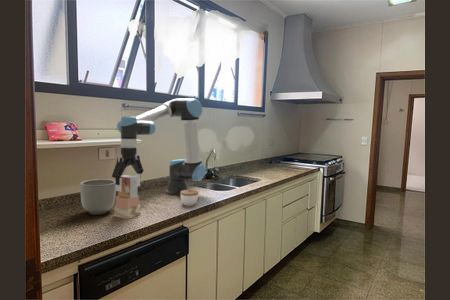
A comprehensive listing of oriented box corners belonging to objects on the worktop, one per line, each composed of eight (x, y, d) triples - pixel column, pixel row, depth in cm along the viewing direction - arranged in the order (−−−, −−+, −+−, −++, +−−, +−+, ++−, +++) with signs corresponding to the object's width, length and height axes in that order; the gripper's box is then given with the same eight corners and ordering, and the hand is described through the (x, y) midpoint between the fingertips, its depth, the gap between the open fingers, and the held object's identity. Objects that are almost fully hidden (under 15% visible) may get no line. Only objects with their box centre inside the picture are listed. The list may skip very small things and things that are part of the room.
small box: (117, 196, 143) (117, 176, 142) (125, 194, 148) (125, 174, 147) (130, 198, 140) (130, 177, 139) (137, 196, 145) (137, 176, 144)
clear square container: (127, 211, 151) (127, 202, 151) (140, 214, 147) (140, 205, 147) (114, 216, 143) (114, 206, 142) (128, 219, 139) (128, 209, 139)
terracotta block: (126, 202, 150) (127, 193, 150) (138, 205, 147) (139, 195, 147) (115, 206, 143) (115, 196, 142) (127, 208, 140) (128, 199, 139)
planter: (94, 220, 136) (94, 187, 134) (72, 213, 144) (72, 182, 143) (123, 211, 151) (123, 181, 149) (102, 205, 159) (102, 177, 158)
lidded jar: (176, 205, 166) (177, 189, 165) (185, 201, 176) (186, 186, 175) (192, 207, 162) (193, 191, 161) (201, 203, 172) (201, 188, 171)
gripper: (139, 145, 155) (139, 183, 157) (103, 148, 132) (104, 192, 134) (150, 146, 152) (150, 184, 154) (116, 149, 129) (116, 194, 131)
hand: (128, 188), depth 144 cm, fingers open, 13 cm apart
